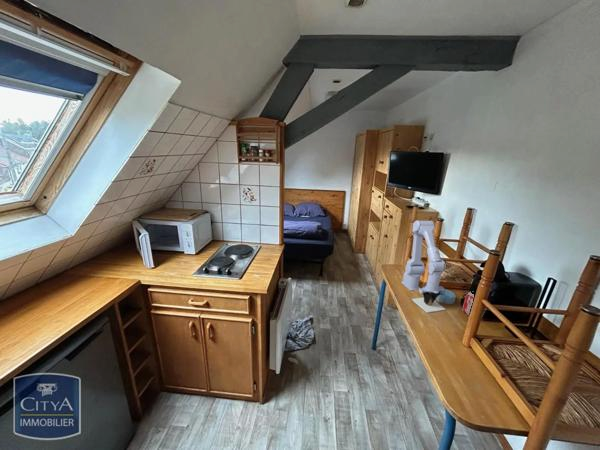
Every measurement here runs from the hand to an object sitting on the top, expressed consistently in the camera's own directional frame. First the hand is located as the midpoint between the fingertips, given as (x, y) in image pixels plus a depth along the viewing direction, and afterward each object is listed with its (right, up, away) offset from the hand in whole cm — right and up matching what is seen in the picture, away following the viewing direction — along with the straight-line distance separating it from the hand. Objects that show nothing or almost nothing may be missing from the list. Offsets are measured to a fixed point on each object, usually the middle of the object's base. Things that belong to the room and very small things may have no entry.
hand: (428, 302), depth 137 cm
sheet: (0, -1, 0) cm, 1 cm away
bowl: (+13, 0, +7) cm, 14 cm away
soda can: (+19, -4, -5) cm, 20 cm away
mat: (0, -2, +1) cm, 2 cm away
